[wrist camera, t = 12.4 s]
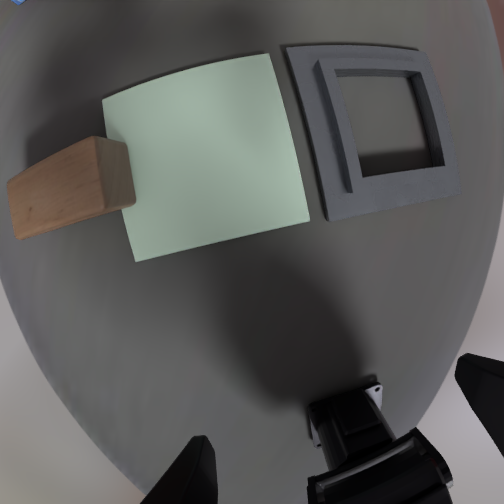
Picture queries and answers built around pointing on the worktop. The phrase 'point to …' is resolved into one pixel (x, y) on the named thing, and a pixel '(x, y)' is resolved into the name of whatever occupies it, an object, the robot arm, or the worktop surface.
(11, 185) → the wooden block
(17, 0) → the ink cartridge box
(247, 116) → the pad
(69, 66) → the worktop surface
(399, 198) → the socket
